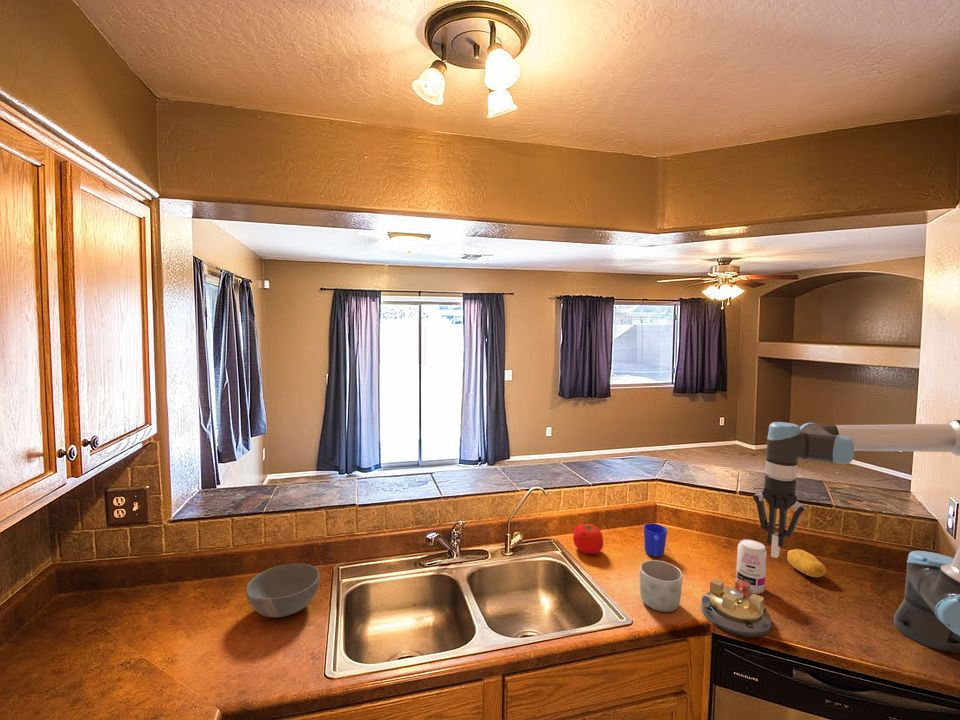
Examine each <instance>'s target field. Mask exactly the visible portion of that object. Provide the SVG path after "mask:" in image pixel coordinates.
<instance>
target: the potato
mask: <svg viewBox="0 0 960 720" xmlns="http://www.w3.org/2000/svg"><path fill="white" fill-rule="evenodd" d="M786 559H787V561H788V562H789V564H790V565H791V567H792V568H794V569H795V570H797V571H798V572H800V573H802V574H804V575H806V576H808V577H812V578H820V577H824V576H825V575H826V574H827V568H826V565H825V564H823V563H822V562H821V561H820V560H818V558H817V557H816V556H815V555H813V554H811V552H807V551H806V550H803V549H798V548H795V549H790V550H788V551H787V555H786Z"/></svg>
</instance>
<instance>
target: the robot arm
mask: <svg viewBox="0 0 960 720" xmlns="http://www.w3.org/2000/svg"><path fill="white" fill-rule="evenodd" d="M766 439H767V440H766V459H765V470H764V471H765V472H764V473H765V475H764V486H763V490H762V491H761V493H757V492H756V493H755V494H753V496H752V498H753V500H754V502H755V504H756V508H757V513H758V519H759V523H760V527H761V529H762V530H765V531H766V532H767V543H768V544H770V546H771V547H770V557H771V558H774V559H778V558H779V556H780V552H781V551H780V550H781V548H783V547H784V546H785V541H786V540H785V539H786V537H788V538H790V537H792V535H793V534H794V532H795V529H796V527H797V525H798V522H799V519H800V517H801V514H802V513H803V512H804V511H805V510H806V509H807V506H806V504H805V505H804V504H802V503H800V502H799V501H798V498H797V495H796V492H797V491H796V490H797V480H796V479H797V478H798V462H799V459H801V460H808V461H817V462H825V463H832V464H843V465H845V464H847V465H848V464H851V463H852V461H853V460H854V456H855V451H857V452H859V451H860V452H922V453H923V452H930V453H935V452H936V453H939V452H940V453H952V454H953V455H954V456H957V457H960V419H951V420H949V421H947V422H946V423H922V424H921V423H916V424H915V423H912V424H911V423H910V424H909V423H907V424H905V423H904V424H903V423H901V424H892V423H891V424H890V423H889V424H834V425H833V424H819V423H816V422H806V423H804V424H802V425H801V426H799V425H798V424H796V423H792V422H791V423H790V422H785V421H784V422H783V421H773V422H771V423H770V424H769V426H768V432H767V438H766ZM764 500H765V501H766V502H767V504H768V507H769V508H768V511H769V512H768V516H767V513H766V508H765V502H764ZM793 506H794V507H793ZM791 507H793V509H794V513H793V515H792V517H791V519H790V523H789V525H788V527H787V518H788V512H789V509H790V508H791ZM777 509H778V510H779V511H778V510H777ZM777 512H779V517H778V518H779V521H778V532H777V531H776V524H777V522H776V521H777ZM767 517H768V518H767ZM906 563H907V564H906V574H905V585H904V597H903V600H902V602H901V603H900V605H899V606H898V608H897V610H896V611H895V613H894V615H893V616H894V617H893V624H894V626H895V628H896V629H897V630H898V631H900V632H901V633H902V634H903V635H905V636H906V637H908V638H909V639H910V640H913V641H915V642H917V643H919V644H921V645H923V646H926V647H928V648H932V649H935V650H938V651H942V652H945V653H951V654H960V544H959V545H958V548H957V549H956V552H955V555H954V557H951V556H948V555H944V554H941V553H936V552H932V551H925V550H913V551H910V552H909V553H908V556H907V560H906Z"/></svg>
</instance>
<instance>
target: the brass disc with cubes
mask: <svg viewBox="0 0 960 720" xmlns="http://www.w3.org/2000/svg"><path fill="white" fill-rule="evenodd" d="M709 583H710V584H709V586H710V587H709V592H710V596H709V603H710V605H711V607H712V608H713V609H714V610H715V611H716V612H717V613H719V614H720V615H722V616H724V617H726V618H728V619H731V620H734V621H737V622H742V623H756V622H759V621H760V620H761V619H762V618H763V607H765V606H764V605H765V604H764V603H765V602H764V601H765V597H763V596H761V595H759V594H752V593H749V592H750V583H748V582H746V581H743V580H740V579H738V580H737V581H736V580H735V582H734V583H735V585H734V587H733V586H725V581H723V580H720V579H718V578H716V577H714V578H713V579H712V580H711V581H710V582H709ZM730 589H737V590H739V591H741V592H742V593H743V602H740V603H739V602H737V599H738V597H736V596H733V595H731V594H729V590H730Z"/></svg>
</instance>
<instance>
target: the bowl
mask: <svg viewBox="0 0 960 720" xmlns="http://www.w3.org/2000/svg"><path fill="white" fill-rule="evenodd" d="M319 584H320V571H319V569H318V568H317V567H315V566H314V565H312V564H307V563H301V562H300V563H288V564H281V565H278V566H273V567H270V568H268V569H266V570H264V571H262V572H260V573H258V574H256V575H255V576H254V577H253V578H252V579H251V580H249V582H248V583H247V585H246V589H245V594H246V599H247V601H248V603H249V605H250V606H251V607H252V609H253V610H254V611H255V612H257V613H258V614H260V615H261V616H264V617H267V618H283V617H287V616H291V615H294V614H295V613H298V612H300V611H302V610H303V609H305V607H308V605H309V603H310V602H311V601H312V600H313V599H314V597H315V596H316V594H317V591H318V588H319Z"/></svg>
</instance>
